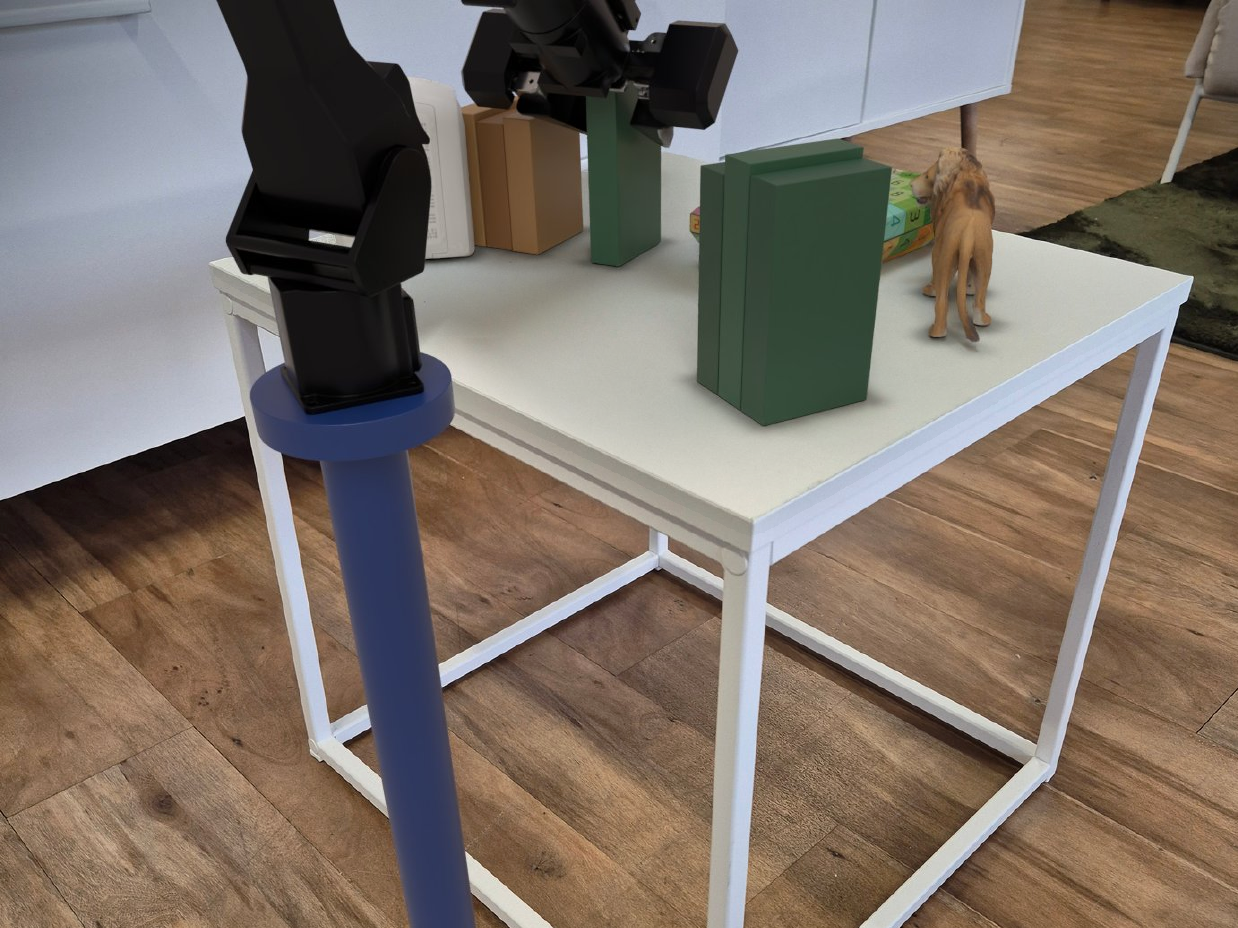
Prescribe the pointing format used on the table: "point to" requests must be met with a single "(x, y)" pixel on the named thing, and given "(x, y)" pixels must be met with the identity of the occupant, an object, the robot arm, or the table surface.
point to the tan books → (522, 179)
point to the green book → (621, 181)
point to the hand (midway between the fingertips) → (638, 138)
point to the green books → (790, 277)
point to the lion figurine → (958, 235)
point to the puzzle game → (888, 219)
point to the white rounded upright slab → (443, 171)
